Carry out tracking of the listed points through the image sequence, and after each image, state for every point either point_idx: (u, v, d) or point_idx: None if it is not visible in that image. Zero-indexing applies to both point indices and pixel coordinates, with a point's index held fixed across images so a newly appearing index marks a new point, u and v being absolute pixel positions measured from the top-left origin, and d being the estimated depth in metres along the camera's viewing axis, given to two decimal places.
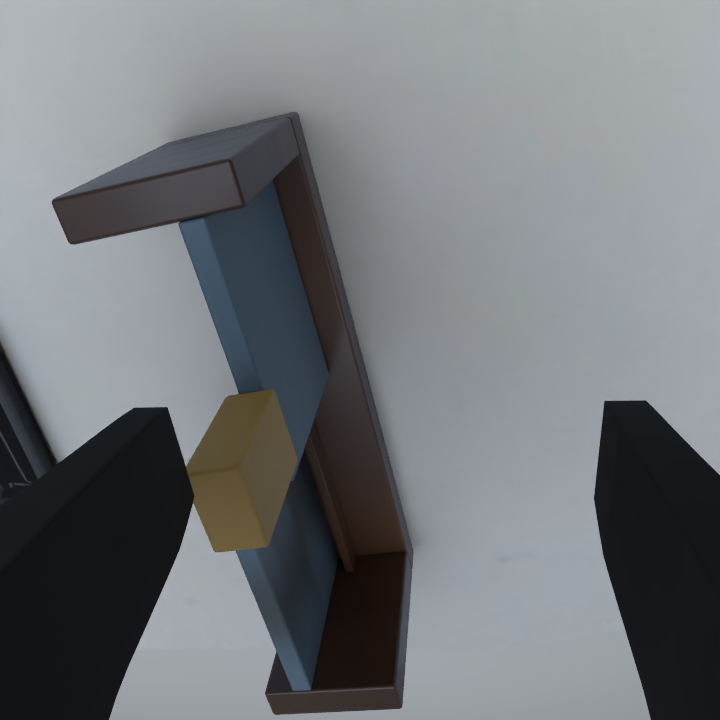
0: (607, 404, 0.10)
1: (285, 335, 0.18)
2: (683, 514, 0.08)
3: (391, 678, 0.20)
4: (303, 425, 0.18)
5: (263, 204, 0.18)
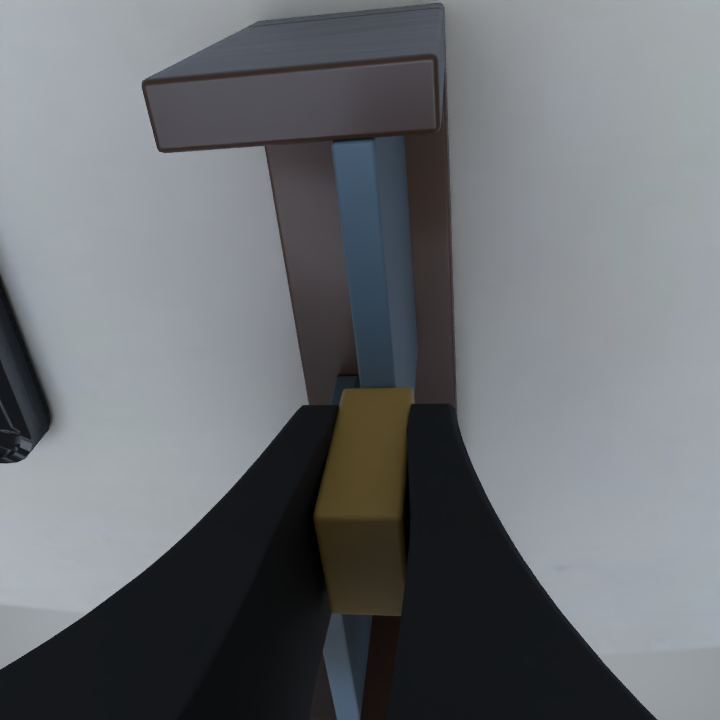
0: (411, 407, 0.11)
1: (404, 306, 0.13)
2: (418, 512, 0.08)
3: None
4: None
5: None
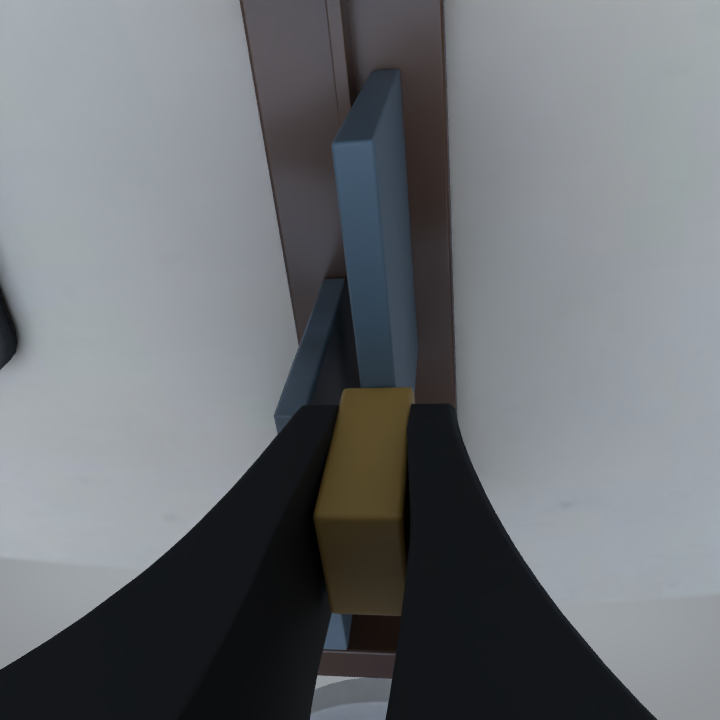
0: (411, 407, 0.11)
1: (404, 306, 0.13)
2: (419, 512, 0.08)
3: None
4: None
5: (398, 125, 0.13)
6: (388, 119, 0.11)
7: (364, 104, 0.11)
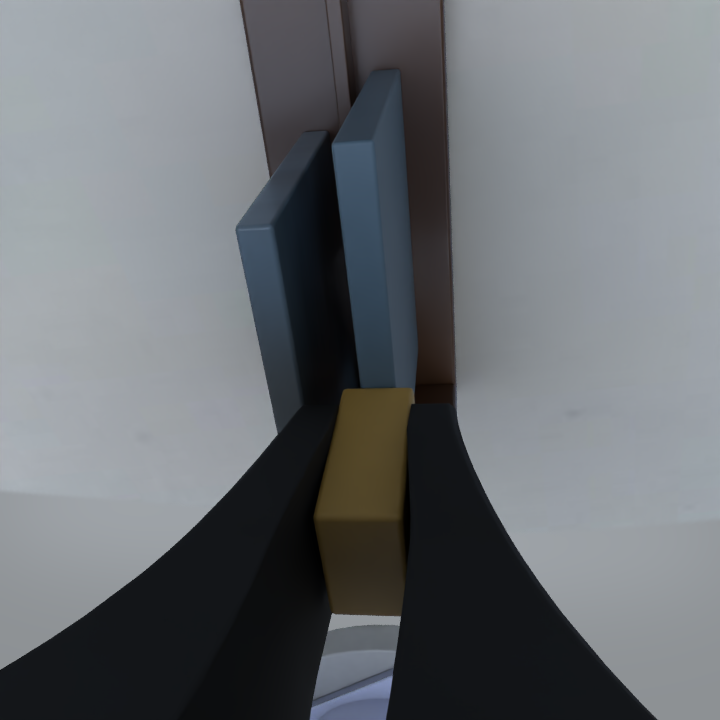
0: (411, 407, 0.11)
1: (404, 306, 0.13)
2: (419, 512, 0.08)
3: None
4: None
5: (398, 125, 0.13)
6: (388, 119, 0.11)
7: (364, 104, 0.11)
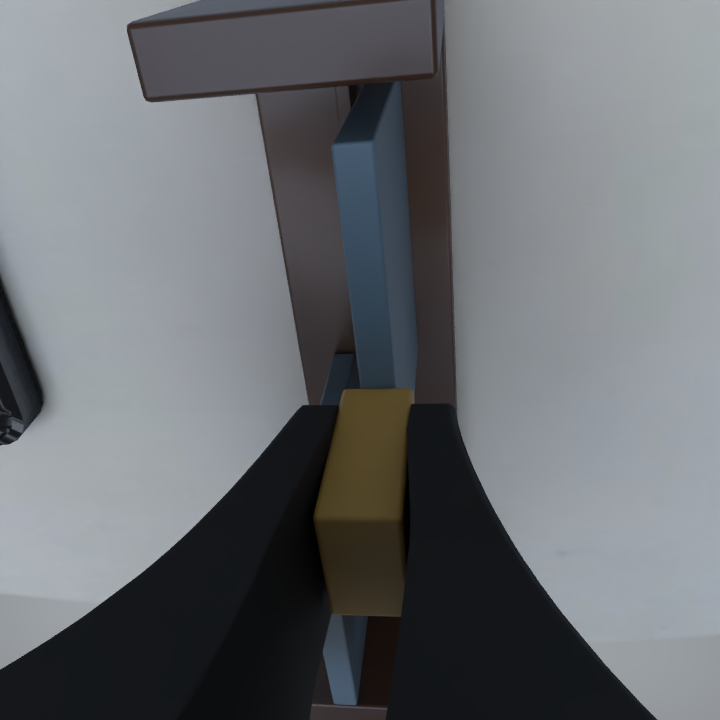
0: None
1: (404, 307, 0.13)
2: (418, 512, 0.08)
3: None
4: None
5: (397, 125, 0.13)
6: (388, 120, 0.11)
7: (364, 105, 0.11)
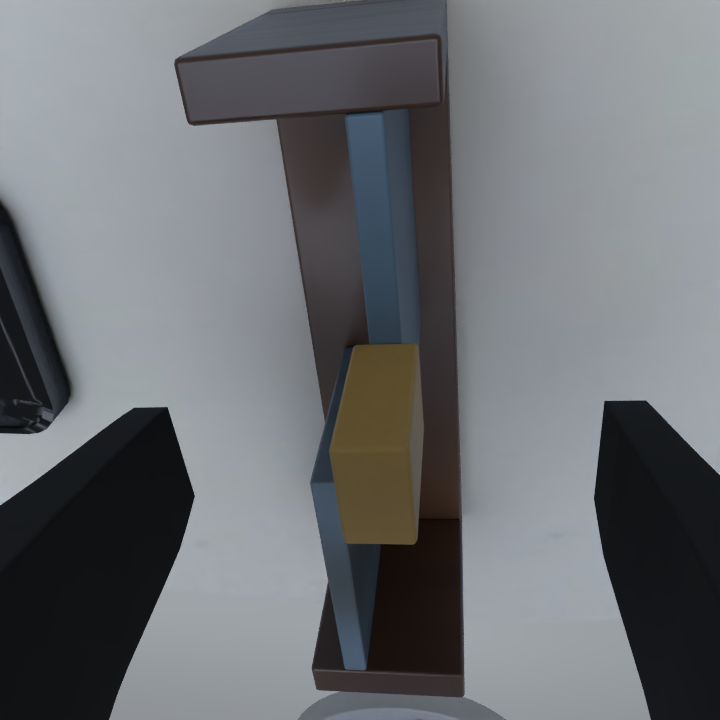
0: (608, 405, 0.10)
1: (409, 274, 0.14)
2: (683, 514, 0.08)
3: (458, 666, 0.18)
4: None
5: None
6: None
7: None
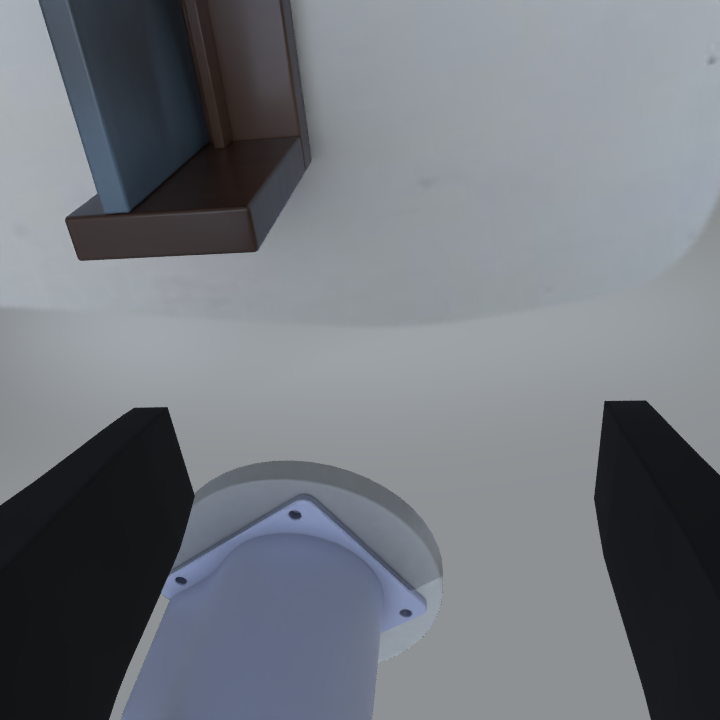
0: (607, 405, 0.10)
1: None
2: (683, 514, 0.08)
3: (246, 202, 0.14)
4: None
5: None
6: None
7: None
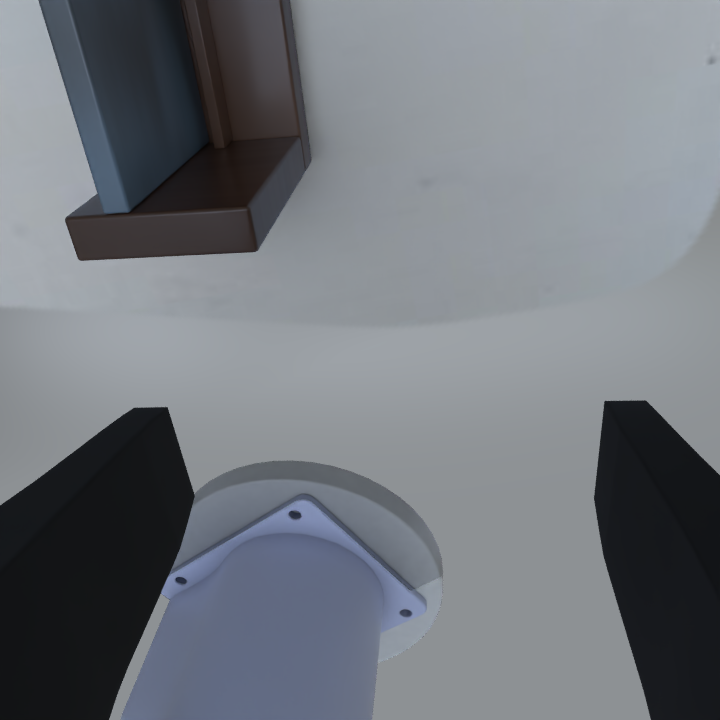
0: (607, 405, 0.10)
1: None
2: (683, 514, 0.08)
3: (246, 202, 0.14)
4: None
5: None
6: None
7: None
